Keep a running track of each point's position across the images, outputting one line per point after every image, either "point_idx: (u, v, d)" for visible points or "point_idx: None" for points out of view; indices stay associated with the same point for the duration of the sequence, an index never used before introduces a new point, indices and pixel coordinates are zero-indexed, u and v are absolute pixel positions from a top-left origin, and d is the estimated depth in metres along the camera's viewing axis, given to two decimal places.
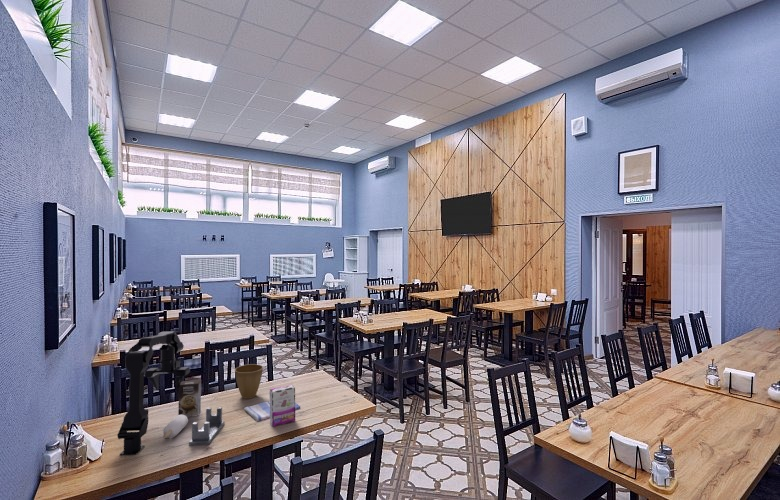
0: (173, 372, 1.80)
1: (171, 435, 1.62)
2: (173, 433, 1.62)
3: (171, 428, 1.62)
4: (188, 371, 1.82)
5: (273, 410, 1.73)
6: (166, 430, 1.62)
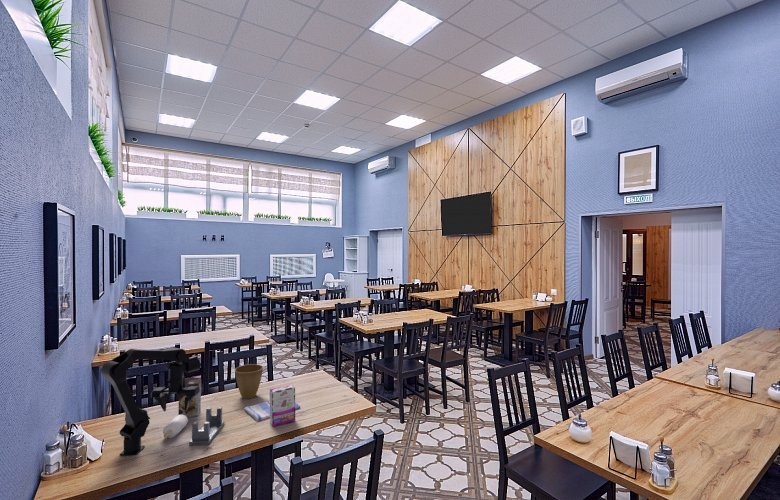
0: (182, 392, 1.67)
1: (171, 435, 1.62)
2: (173, 433, 1.62)
3: (171, 428, 1.62)
4: (198, 391, 1.69)
5: (273, 410, 1.73)
6: (166, 430, 1.62)
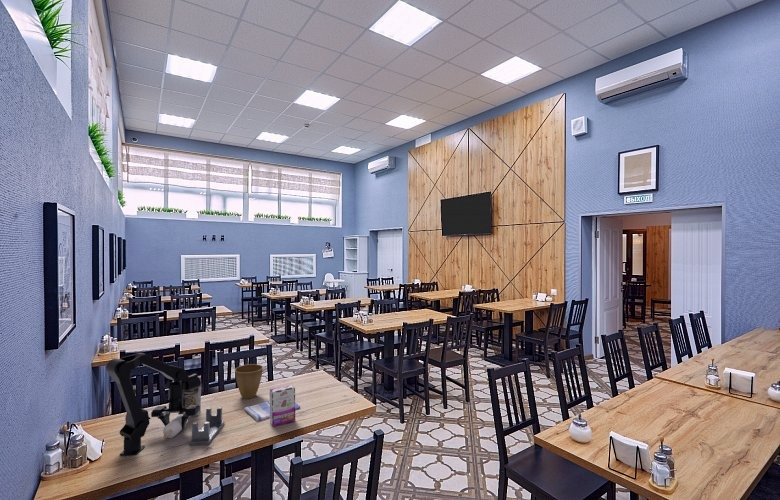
0: (182, 411, 1.67)
1: (171, 435, 1.62)
2: (173, 432, 1.62)
3: (171, 428, 1.62)
4: (198, 410, 1.69)
5: (273, 410, 1.73)
6: (166, 430, 1.62)
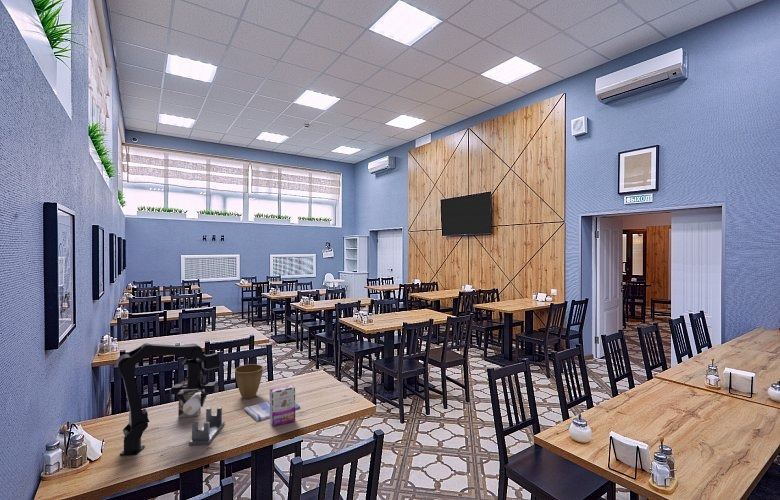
0: (200, 388, 1.67)
1: (191, 412, 1.62)
2: (192, 409, 1.62)
3: (191, 405, 1.62)
4: (217, 387, 1.69)
5: (273, 410, 1.73)
6: (186, 407, 1.62)
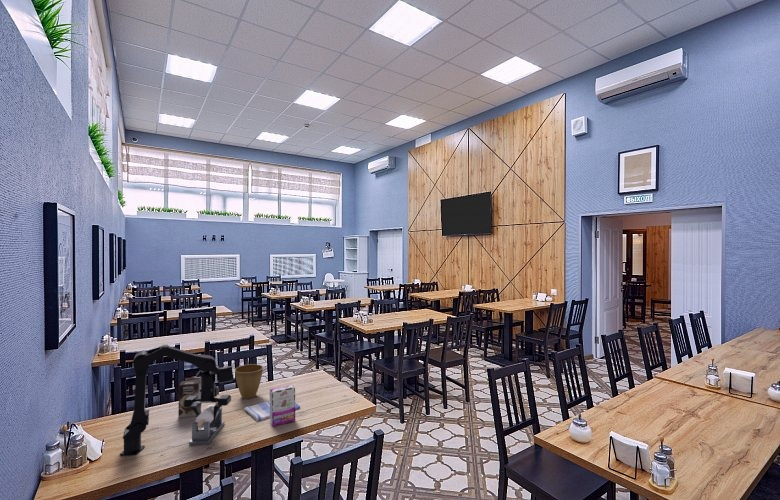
0: (214, 401, 1.66)
1: None
2: None
3: (204, 417, 1.61)
4: (230, 400, 1.68)
5: (273, 410, 1.73)
6: (199, 420, 1.61)
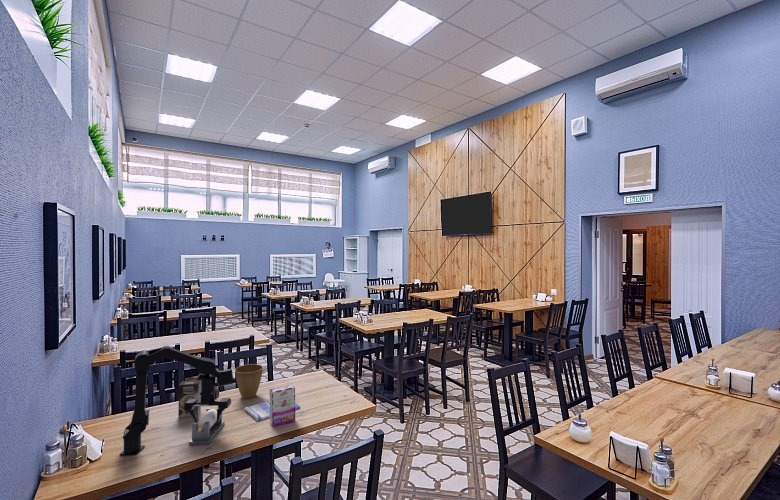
0: (214, 404, 1.66)
1: None
2: None
3: (204, 422, 1.61)
4: (230, 403, 1.68)
5: (273, 410, 1.73)
6: (199, 425, 1.61)
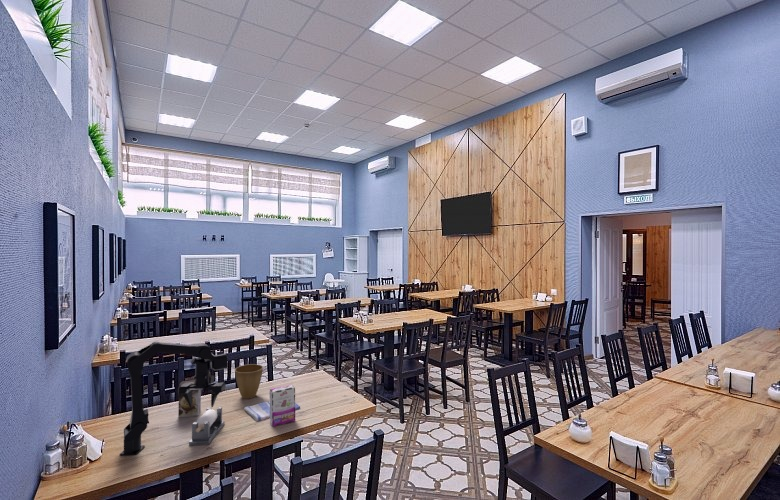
0: (208, 388, 1.67)
1: None
2: None
3: (200, 423, 1.61)
4: (224, 387, 1.69)
5: (273, 410, 1.73)
6: None
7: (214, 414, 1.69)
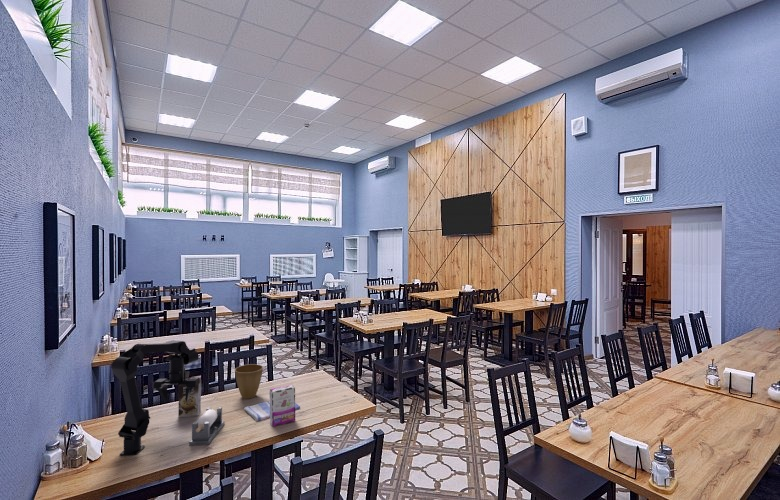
0: (182, 383, 1.72)
1: None
2: None
3: (200, 423, 1.61)
4: (198, 382, 1.74)
5: (273, 410, 1.73)
6: None
7: (214, 414, 1.69)
